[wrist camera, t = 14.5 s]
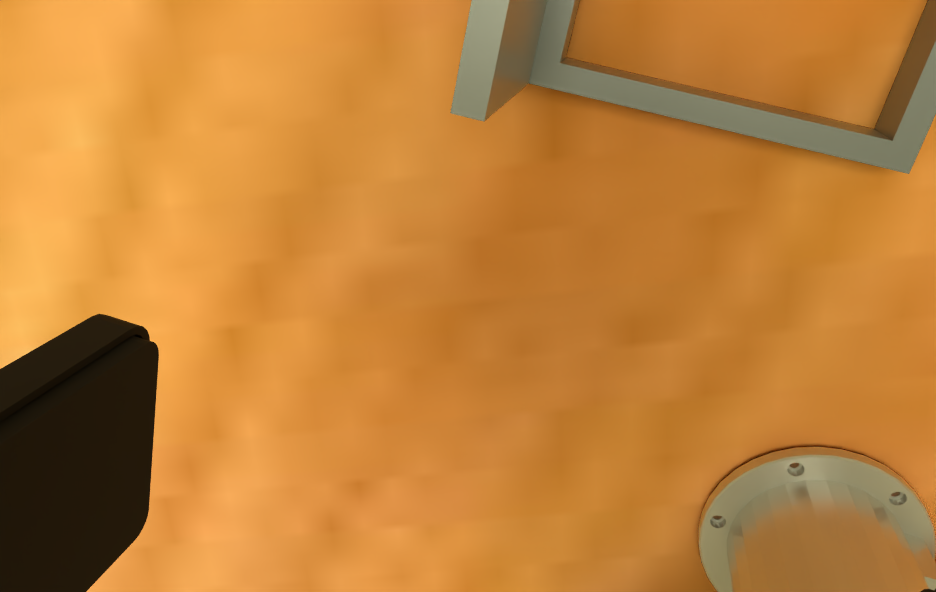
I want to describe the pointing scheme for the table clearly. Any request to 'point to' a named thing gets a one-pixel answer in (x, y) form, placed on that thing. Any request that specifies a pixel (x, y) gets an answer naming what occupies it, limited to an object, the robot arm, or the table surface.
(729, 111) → the equipment case
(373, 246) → the table surface
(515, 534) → the table surface
